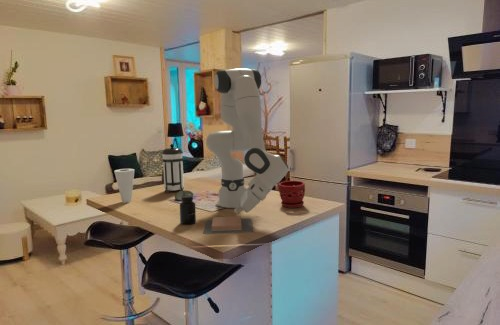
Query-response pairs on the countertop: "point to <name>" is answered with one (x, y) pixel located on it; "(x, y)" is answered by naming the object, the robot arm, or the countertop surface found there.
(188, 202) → the supplement bottle
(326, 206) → the countertop surface
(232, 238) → the countertop surface
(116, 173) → the cup
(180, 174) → the coffee press
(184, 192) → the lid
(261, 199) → the robot arm
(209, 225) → the mat
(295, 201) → the plant pot
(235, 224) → the tile
